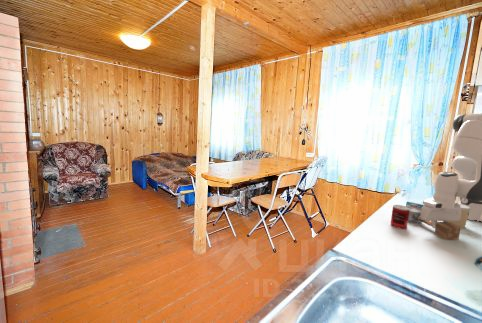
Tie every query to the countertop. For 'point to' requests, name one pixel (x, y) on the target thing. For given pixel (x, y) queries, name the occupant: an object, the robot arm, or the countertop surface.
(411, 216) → the sleeve
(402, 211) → the canned food
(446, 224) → the socket
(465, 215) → the coffee cup
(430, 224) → the tube
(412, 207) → the blue thin box
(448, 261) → the countertop surface
